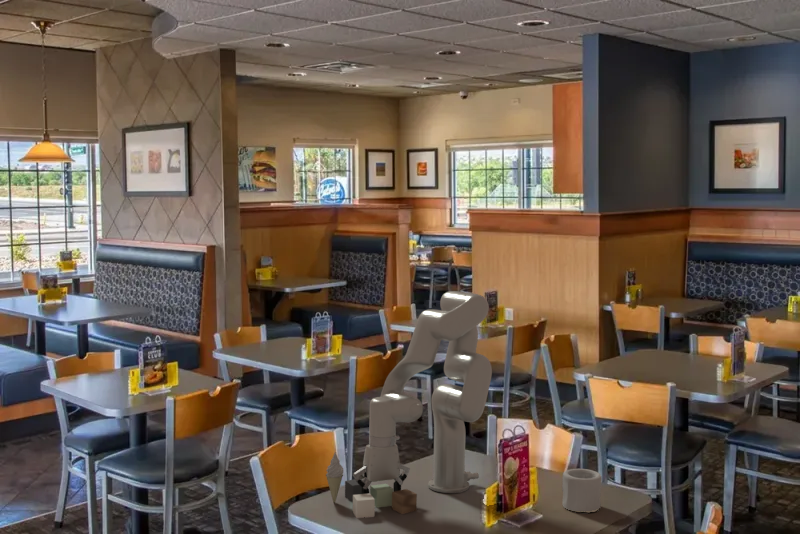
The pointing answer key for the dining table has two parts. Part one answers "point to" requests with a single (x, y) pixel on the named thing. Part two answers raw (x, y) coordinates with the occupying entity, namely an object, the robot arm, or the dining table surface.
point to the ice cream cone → (334, 476)
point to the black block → (352, 489)
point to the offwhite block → (363, 505)
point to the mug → (581, 490)
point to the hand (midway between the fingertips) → (381, 499)
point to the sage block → (381, 495)
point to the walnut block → (404, 501)
